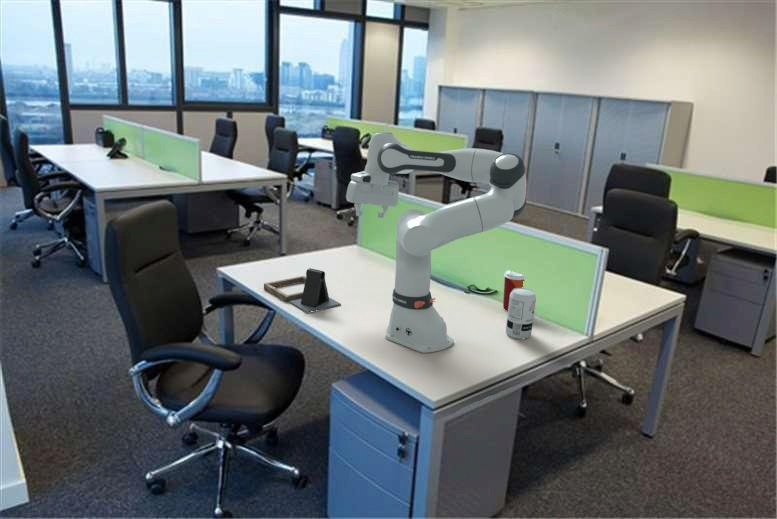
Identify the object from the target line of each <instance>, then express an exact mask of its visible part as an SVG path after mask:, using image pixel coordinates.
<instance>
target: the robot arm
mask: <svg viewBox="0 0 777 519" xmlns="http://www.w3.org/2000/svg"><path fill="white" fill-rule="evenodd" d="M366 158H367V161H366V164H365V167H364V170H363V171H360V172H356V173H355V172H354V173H352V174H351V175H350V180H351V181H350V182H349V183H348V185H347V189H346V194H345V198H346V201H347V202H349V203H353V204H354V205H353V206H354V208H355V216H356V217H362V214H363V211H362V210H361V206H362V205H363V204H364V205H370V206H371V205H372V206H381V210H380V212H377V218H378V219H379V218H380V219H384V217H385V214H386V212H387V211H388V210H389V207H390V208H391V207H392V208H393V207H395V208H396V206H397V205H398V204H399V203H398V202H399V190H400V185H399V183H398V181H396V180H390V175H392V174H399V175H401V174H402V175H404V174H405V175H407V174H410V173H413V172H414V171H423V172H431V173H436V174H441V175H442V176H446V177H450V178H453V179H455V180H459V181H464V182H468V183H478V184H487V185H489V186H490V187H489V188H490V189H489V191H488V192H486V193H484V194H480V195H476V196H473V197H468V198H465V199H461V200H458V201H457V200H456V201H454V202H451V203H448V204H447V203H446V205H444V206H442V207H441V208H438V209H437V210H434V211H432V212H429V213H426V212H424V211H422V210H419V209H417V208H415V209H407V210H405V211H404V212H403V213H402V214H401V215H400V216H399V218H398V220H397V224H396V240H395V241H396V242H395V244H396V247H395V272H394V273H395V276H394V288H393V291H392V295H391V296H392V302H393V303H392V307H391V311H390V317H389V322H388V326H387V329H386V334H385V339H386V340H389V341H390V342H391V341H392V342H394V343H396V344H398V345H401V346H404V347H407V348H410V349H411V350H414V351H417V352H419V353H423V354H424V353H435V352H439V351H440V352H441V351H442V350H446V349H447V348H450V347H452V346H453V345H454V343H455V342H454V341H455V339H453V338H452V337H451V336H450V335H448V334H447V332H448V330H447V329H448V328H447V324H446V322H445V320H444V318H443V316H441V314H439V312H438V311H437V309H436V308H435V306H434V303H435V302H436V297H434V298H433V297H432V292H431V291H430V290H431V274H432V251H434V250H437V249H440V248H441V247H443V246H445V245H447V244H450V243H451V242H454V241H456V240H459V239H462V238H465V237H470V236H472V235H476V234H481V233H485V232H487V231H491V230H493V229H495V228H498V227H500V226H502V225H505V224H506V223H508V222H510V221H511V220H512V219H513V218H516V217H518V216H520V215H521V214H522V213H523V211H524V210H525V207H526V204H527V198H526V195H527V175H526V167H525V162H524V160H523V159H522V157H520V156H519V155H518V154H516V153H511V152H509V153H503V152H500V151H495V150H491V149H485V148H476V147H475V148H472V147H470V148H469V147H468V148H459V149H452V150H442V151H426V150H415V149H414V148H413V147H411V146H408V145H407V144H405V143H403V142H402V141H401V140H399V139H398V138H397V137H396V136H395V134H394V133H392V132H382V131H381V132H376V133H374V134H372V136H371V138H370V140H369V145H368V149H367V154H366Z"/></svg>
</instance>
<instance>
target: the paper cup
mask: <svg viewBox="0 0 777 519" xmlns="http://www.w3.org/2000/svg"><path fill="white" fill-rule="evenodd" d="M510 270H511V269H508V270H506V271H505V272H504V273H503V277H504V284H503V285H504V286H503V302H502V303H503V305H502V309H503V308H504V309H505V310H507V311H506V312H508V307H509V299H510V293H511V292H512V290H513V289H515V288H522V287H523V288H524V286H523V281H524V282H525V280H526V278H524V275H522V274H519V273H516V272H513V271H512V272H511V271H510ZM524 279H525V280H524ZM504 309H503V310H504ZM505 310H504V311H505Z"/></svg>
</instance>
